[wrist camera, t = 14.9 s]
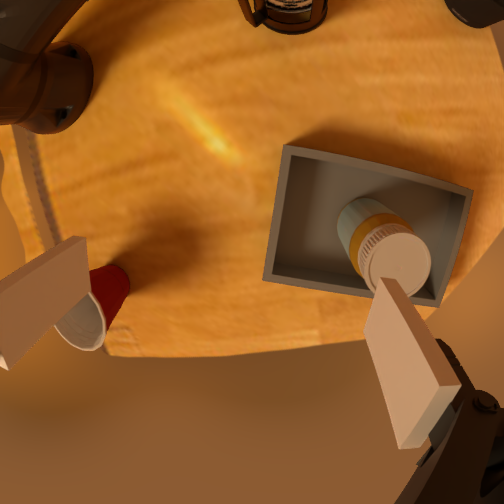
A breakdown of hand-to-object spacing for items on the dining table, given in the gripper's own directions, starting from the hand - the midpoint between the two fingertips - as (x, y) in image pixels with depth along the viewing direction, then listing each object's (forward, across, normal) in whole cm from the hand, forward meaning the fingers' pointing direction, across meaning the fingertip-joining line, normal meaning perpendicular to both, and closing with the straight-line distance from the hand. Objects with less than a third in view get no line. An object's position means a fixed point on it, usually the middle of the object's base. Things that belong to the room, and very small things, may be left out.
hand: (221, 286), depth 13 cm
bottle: (+27, +13, -3) cm, 30 cm away
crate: (+28, +14, -3) cm, 31 cm away
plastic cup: (+28, -22, -17) cm, 40 cm away
